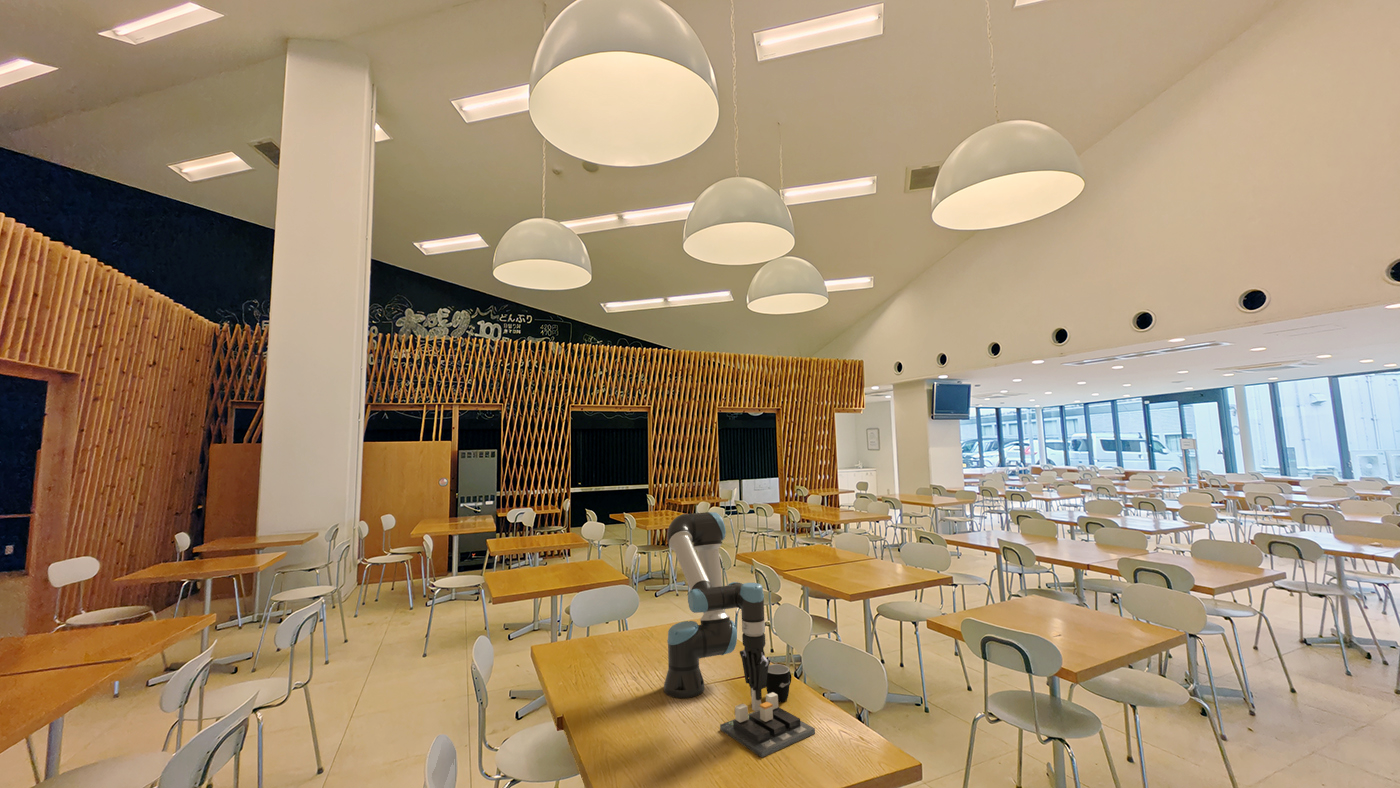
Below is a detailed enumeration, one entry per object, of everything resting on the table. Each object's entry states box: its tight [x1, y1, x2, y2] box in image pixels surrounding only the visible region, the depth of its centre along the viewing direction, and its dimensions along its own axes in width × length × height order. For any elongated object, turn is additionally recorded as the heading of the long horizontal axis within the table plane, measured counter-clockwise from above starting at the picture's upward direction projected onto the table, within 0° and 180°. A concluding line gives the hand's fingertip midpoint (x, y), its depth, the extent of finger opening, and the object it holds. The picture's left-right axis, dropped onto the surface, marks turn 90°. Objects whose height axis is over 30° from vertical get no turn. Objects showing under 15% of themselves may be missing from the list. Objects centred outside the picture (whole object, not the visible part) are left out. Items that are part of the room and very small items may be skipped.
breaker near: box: [734, 703, 749, 722], centre depth 168 cm, size 2×3×4 cm
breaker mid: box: [759, 701, 773, 722], centre depth 168 cm, size 2×3×4 cm
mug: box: [765, 663, 792, 703], centre depth 192 cm, size 12×9×10 cm
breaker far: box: [765, 692, 779, 709], centre depth 176 cm, size 2×3×4 cm
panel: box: [719, 706, 816, 759], centre depth 168 cm, size 20×22×4 cm
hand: (756, 709), depth 172 cm, fingers closed
